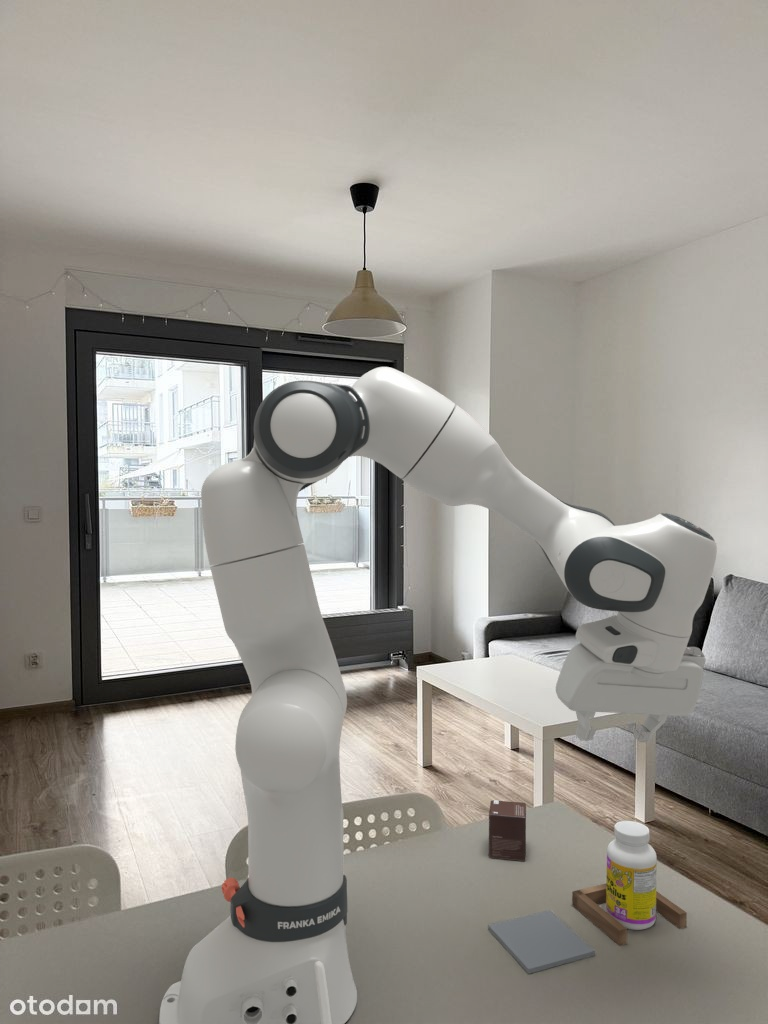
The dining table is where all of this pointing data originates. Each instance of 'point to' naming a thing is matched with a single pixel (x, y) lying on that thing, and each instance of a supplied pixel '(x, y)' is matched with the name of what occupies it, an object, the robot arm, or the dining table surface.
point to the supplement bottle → (631, 876)
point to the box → (507, 830)
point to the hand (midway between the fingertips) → (612, 739)
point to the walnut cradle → (616, 931)
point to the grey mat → (540, 941)
